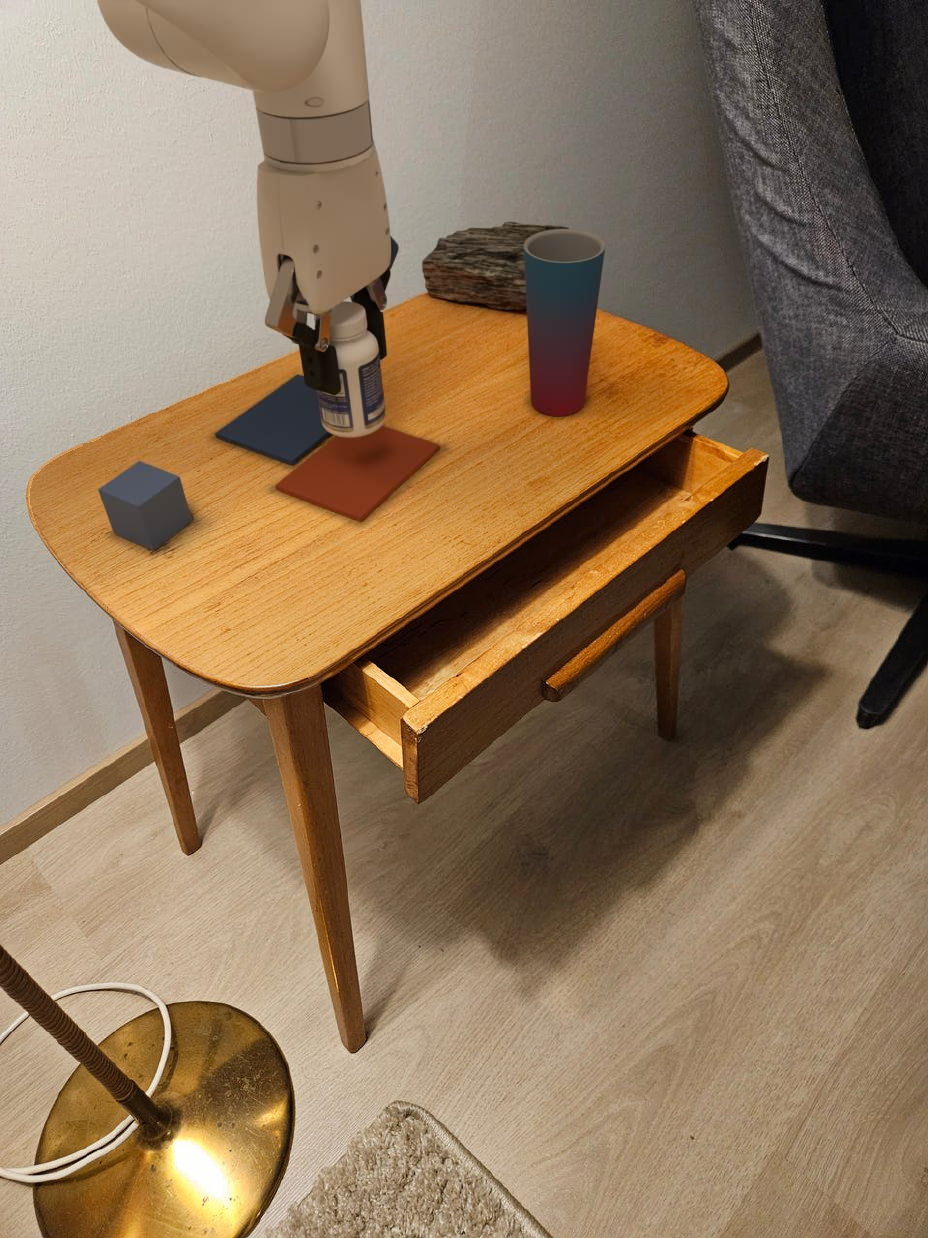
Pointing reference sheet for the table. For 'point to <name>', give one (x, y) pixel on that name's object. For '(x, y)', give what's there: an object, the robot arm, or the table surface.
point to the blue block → (146, 505)
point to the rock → (482, 265)
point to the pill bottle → (353, 376)
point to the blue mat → (280, 423)
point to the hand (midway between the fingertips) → (346, 369)
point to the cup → (561, 315)
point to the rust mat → (358, 471)
